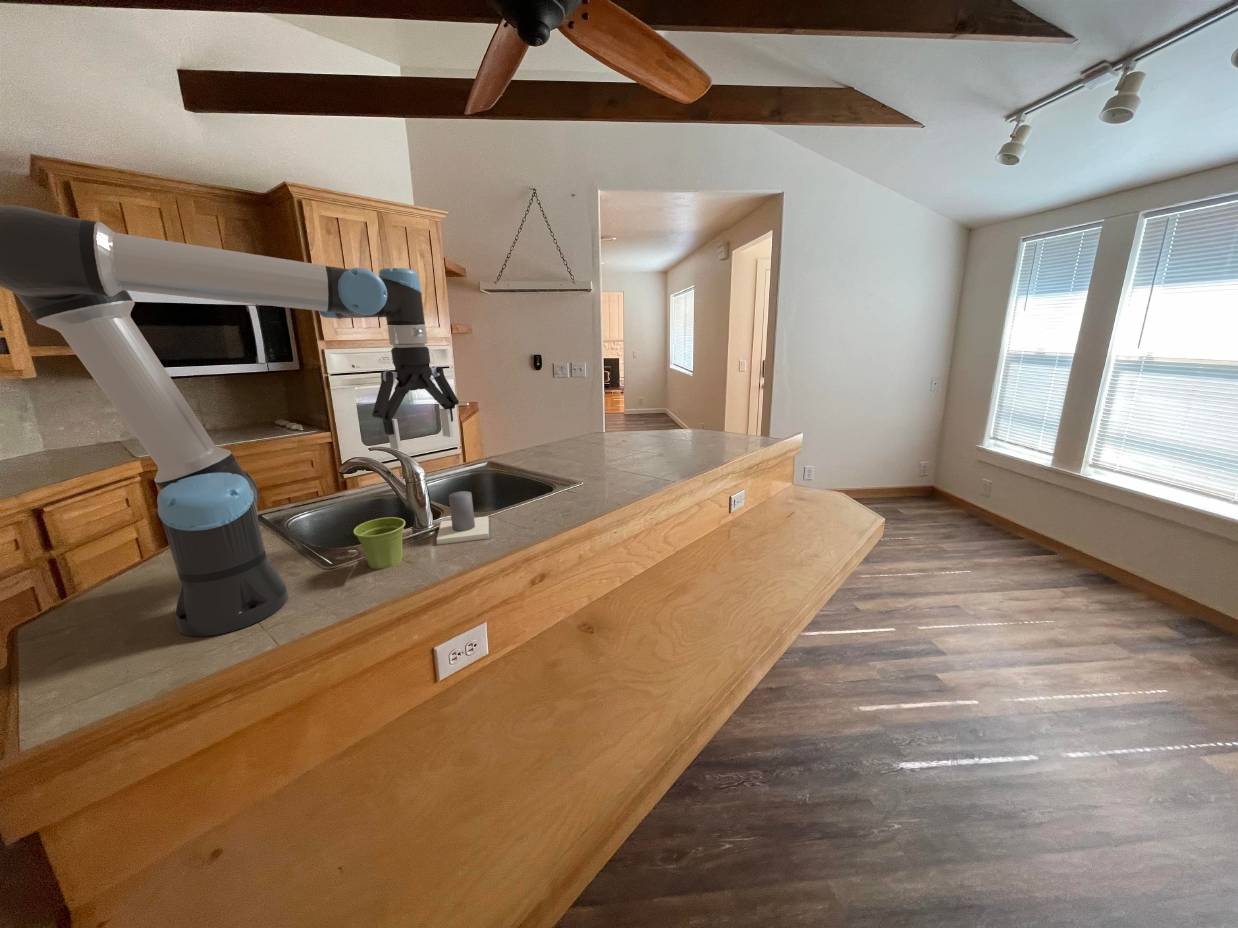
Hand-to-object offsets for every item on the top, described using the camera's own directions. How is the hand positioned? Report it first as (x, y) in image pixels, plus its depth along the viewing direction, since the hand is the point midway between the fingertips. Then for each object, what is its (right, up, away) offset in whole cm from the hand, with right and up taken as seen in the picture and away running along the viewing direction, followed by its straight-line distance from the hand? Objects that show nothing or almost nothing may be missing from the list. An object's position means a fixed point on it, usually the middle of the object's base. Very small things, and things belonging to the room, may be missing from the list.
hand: (423, 442), depth 109 cm
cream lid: (+8, -21, +3) cm, 23 cm away
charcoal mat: (+8, -22, +4) cm, 23 cm away
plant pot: (-3, -26, -10) cm, 28 cm away
